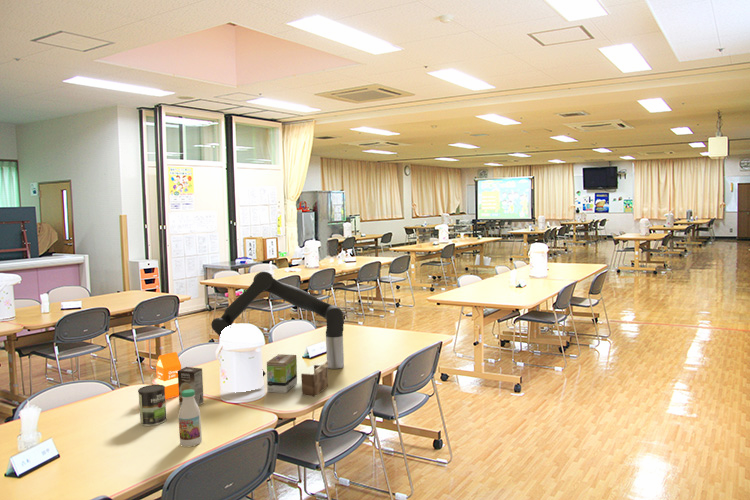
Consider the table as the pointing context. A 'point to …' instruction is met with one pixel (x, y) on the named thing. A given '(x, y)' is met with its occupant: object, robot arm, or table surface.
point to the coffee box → (191, 383)
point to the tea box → (281, 373)
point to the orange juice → (168, 373)
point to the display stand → (315, 380)
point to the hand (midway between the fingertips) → (263, 375)
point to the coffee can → (152, 405)
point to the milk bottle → (189, 420)
